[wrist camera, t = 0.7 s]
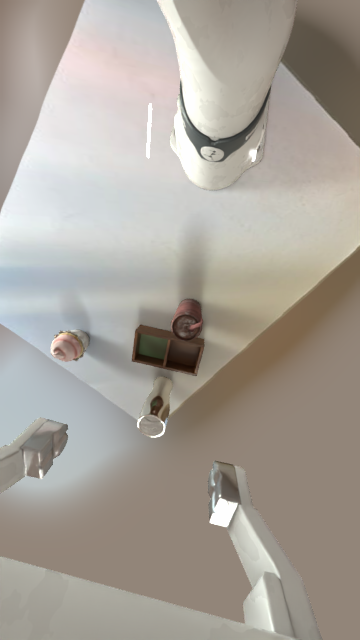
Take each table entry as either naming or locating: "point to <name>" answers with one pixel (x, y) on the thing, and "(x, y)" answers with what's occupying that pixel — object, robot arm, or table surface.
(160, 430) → the beer glass
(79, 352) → the cupcake
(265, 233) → the table surface
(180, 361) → the tray
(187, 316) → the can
